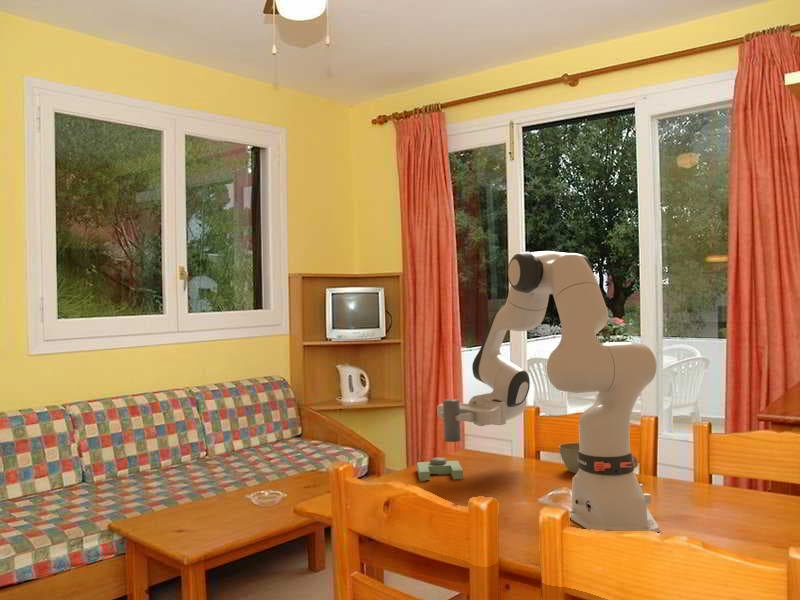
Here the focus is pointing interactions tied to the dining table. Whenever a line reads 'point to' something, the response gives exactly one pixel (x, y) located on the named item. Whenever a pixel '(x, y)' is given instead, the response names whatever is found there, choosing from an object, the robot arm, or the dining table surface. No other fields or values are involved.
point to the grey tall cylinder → (451, 420)
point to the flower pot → (570, 456)
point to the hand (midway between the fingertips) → (449, 417)
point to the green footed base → (439, 468)
